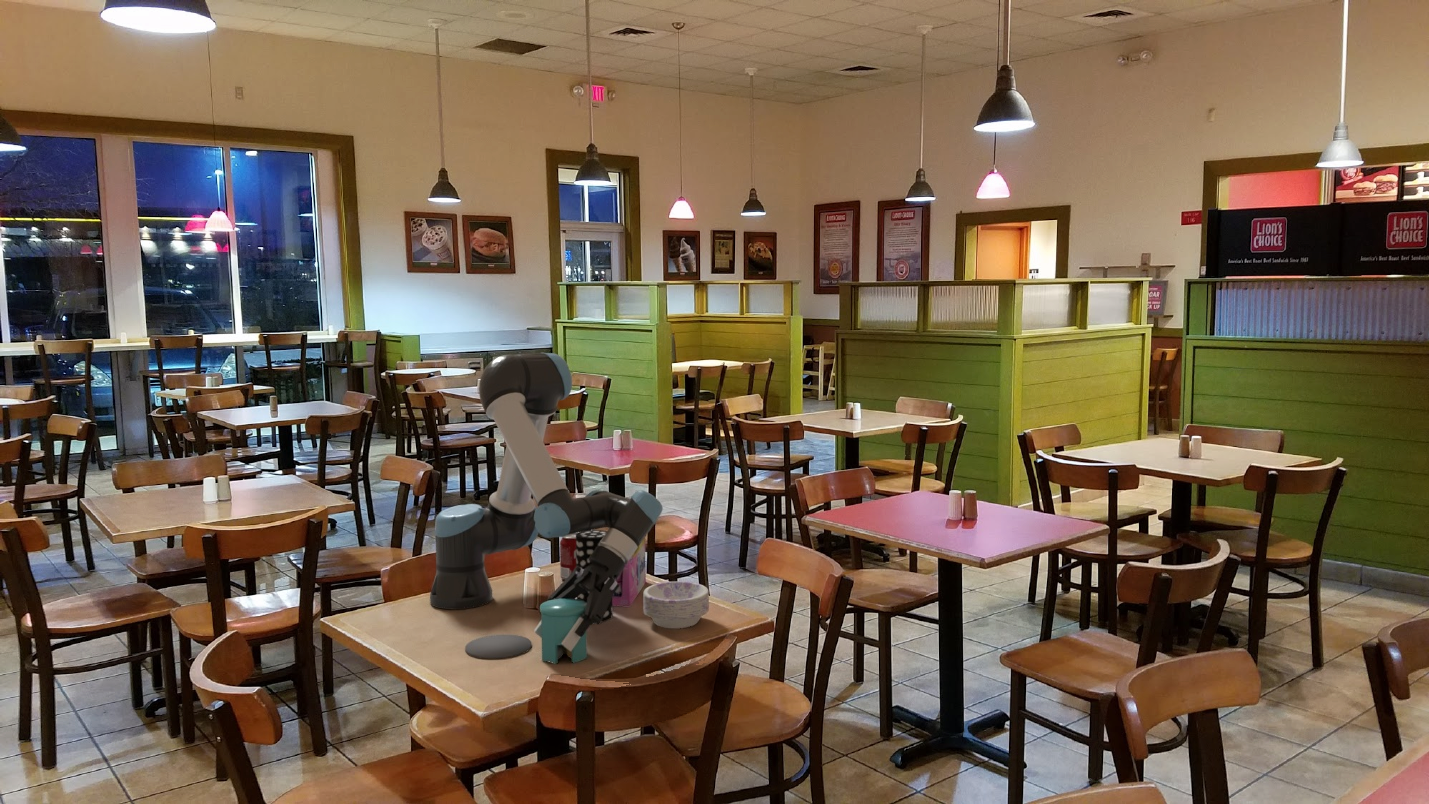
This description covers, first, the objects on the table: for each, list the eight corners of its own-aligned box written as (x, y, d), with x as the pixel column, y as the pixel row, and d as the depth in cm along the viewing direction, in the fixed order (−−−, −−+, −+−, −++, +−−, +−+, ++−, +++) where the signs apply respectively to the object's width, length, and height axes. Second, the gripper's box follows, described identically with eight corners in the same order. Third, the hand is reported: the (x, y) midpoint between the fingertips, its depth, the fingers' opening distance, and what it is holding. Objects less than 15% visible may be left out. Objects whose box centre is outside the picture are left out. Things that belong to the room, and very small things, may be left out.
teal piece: (541, 649, 221) (540, 599, 220) (587, 647, 222) (586, 597, 221) (540, 665, 211) (539, 613, 210) (588, 663, 213) (587, 611, 212)
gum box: (629, 609, 250) (629, 554, 249) (597, 608, 251) (596, 553, 250) (646, 582, 274) (646, 531, 272) (617, 581, 275) (616, 531, 273)
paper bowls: (648, 635, 230) (647, 601, 229) (639, 615, 245) (639, 582, 244) (714, 631, 233) (714, 597, 232) (702, 611, 248) (702, 579, 247)
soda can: (567, 583, 272) (567, 539, 271) (556, 578, 277) (555, 534, 276) (590, 579, 276) (589, 535, 275) (578, 574, 281) (577, 531, 280)
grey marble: (546, 660, 215) (546, 646, 214) (552, 655, 217) (551, 641, 217) (560, 661, 214) (559, 647, 214) (565, 656, 217) (565, 642, 216)
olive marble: (555, 655, 218) (554, 641, 217) (560, 650, 220) (560, 637, 220) (568, 656, 217) (568, 642, 217) (573, 651, 220) (573, 638, 219)
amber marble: (563, 659, 215) (563, 645, 215) (569, 654, 218) (568, 641, 218) (577, 660, 214) (577, 646, 214) (582, 655, 217) (582, 642, 217)
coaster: (453, 656, 217) (453, 653, 217) (483, 635, 231) (483, 632, 231) (515, 661, 214) (514, 658, 214) (541, 639, 228) (541, 636, 228)
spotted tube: (615, 612, 247) (614, 530, 245) (608, 623, 239) (607, 538, 237) (581, 611, 248) (580, 529, 246) (573, 621, 240) (572, 537, 238)
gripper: (654, 574, 217) (593, 664, 208) (592, 554, 234) (534, 637, 225) (633, 554, 213) (571, 645, 204) (572, 535, 230) (512, 618, 221)
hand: (551, 641), depth 215 cm, fingers closed on teal piece, 10 cm apart
